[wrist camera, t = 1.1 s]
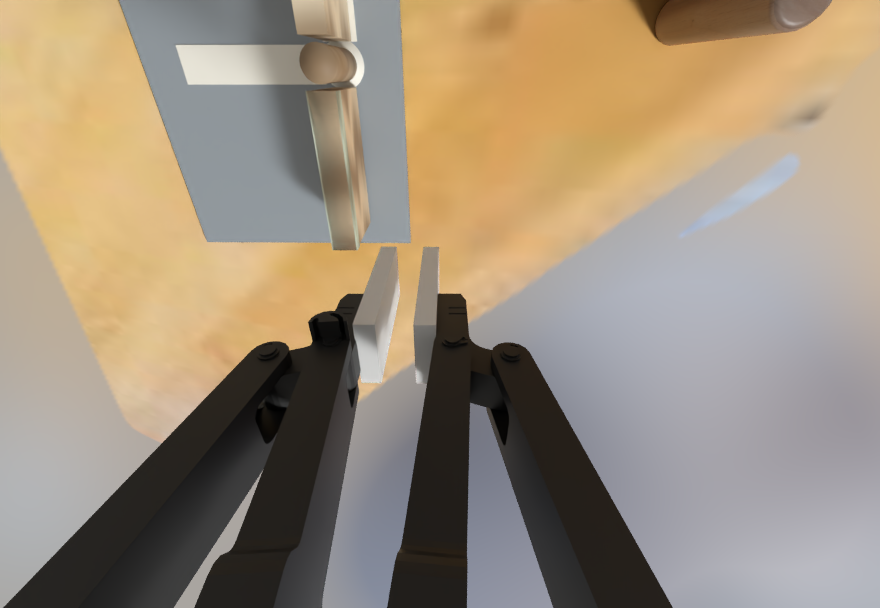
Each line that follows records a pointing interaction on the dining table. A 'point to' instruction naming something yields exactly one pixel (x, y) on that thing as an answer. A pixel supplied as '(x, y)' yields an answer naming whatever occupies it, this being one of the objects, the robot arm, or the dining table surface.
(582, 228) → the dining table surface
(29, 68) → the dining table surface
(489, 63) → the dining table surface
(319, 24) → the beige wooden panel
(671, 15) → the wooden toy
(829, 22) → the dining table surface
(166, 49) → the card
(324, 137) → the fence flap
